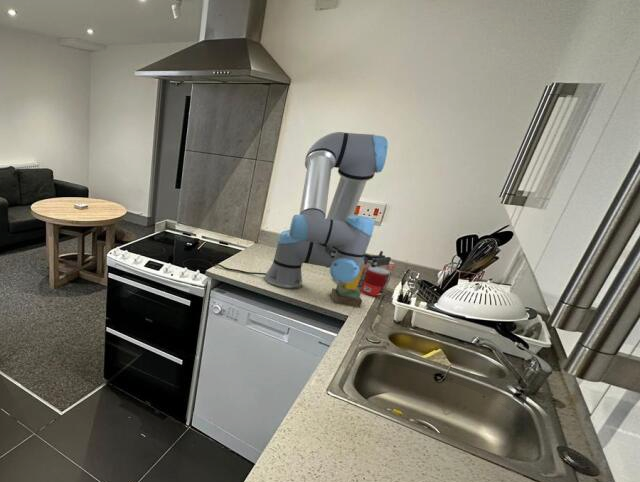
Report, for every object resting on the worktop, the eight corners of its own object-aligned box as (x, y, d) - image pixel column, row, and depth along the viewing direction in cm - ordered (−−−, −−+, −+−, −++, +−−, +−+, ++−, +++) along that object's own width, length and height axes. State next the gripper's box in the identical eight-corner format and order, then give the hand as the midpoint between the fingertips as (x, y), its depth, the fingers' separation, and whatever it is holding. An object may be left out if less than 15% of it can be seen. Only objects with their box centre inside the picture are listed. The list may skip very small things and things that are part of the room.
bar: (345, 288, 155) (352, 264, 151) (342, 284, 159) (350, 261, 155) (356, 290, 155) (364, 266, 151) (353, 286, 158) (360, 263, 154)
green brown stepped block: (335, 303, 156) (340, 289, 153) (330, 294, 164) (334, 281, 162) (359, 307, 154) (364, 293, 152) (353, 298, 162) (357, 285, 160)
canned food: (382, 298, 165) (392, 274, 160) (361, 294, 167) (370, 270, 163) (379, 292, 171) (387, 268, 167) (358, 288, 174) (367, 265, 169)
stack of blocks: (337, 284, 176) (345, 258, 171) (332, 279, 182) (340, 253, 177) (386, 289, 175) (396, 263, 170) (379, 284, 181) (388, 259, 176)
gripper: (307, 263, 135) (320, 252, 151) (391, 283, 122) (395, 268, 138) (313, 241, 132) (326, 233, 148) (399, 260, 119) (403, 248, 135)
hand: (359, 250), depth 143 cm, fingers open, 13 cm apart
